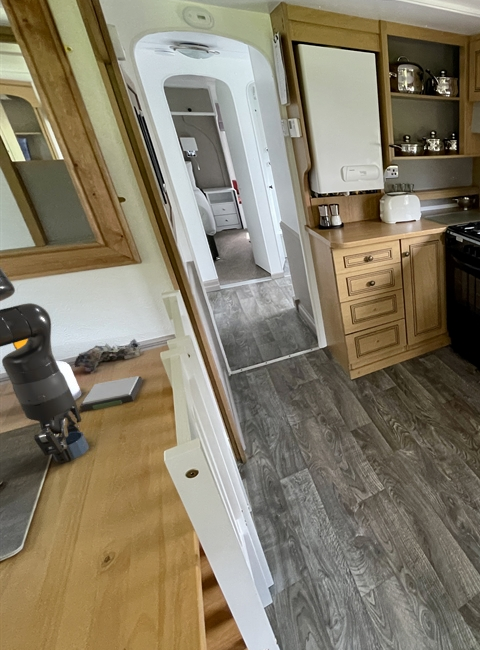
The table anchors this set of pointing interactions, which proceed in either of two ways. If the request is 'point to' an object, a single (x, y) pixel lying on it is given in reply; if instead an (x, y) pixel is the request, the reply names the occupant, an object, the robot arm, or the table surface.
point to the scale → (112, 393)
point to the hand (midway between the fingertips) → (71, 452)
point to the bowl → (75, 444)
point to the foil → (105, 354)
